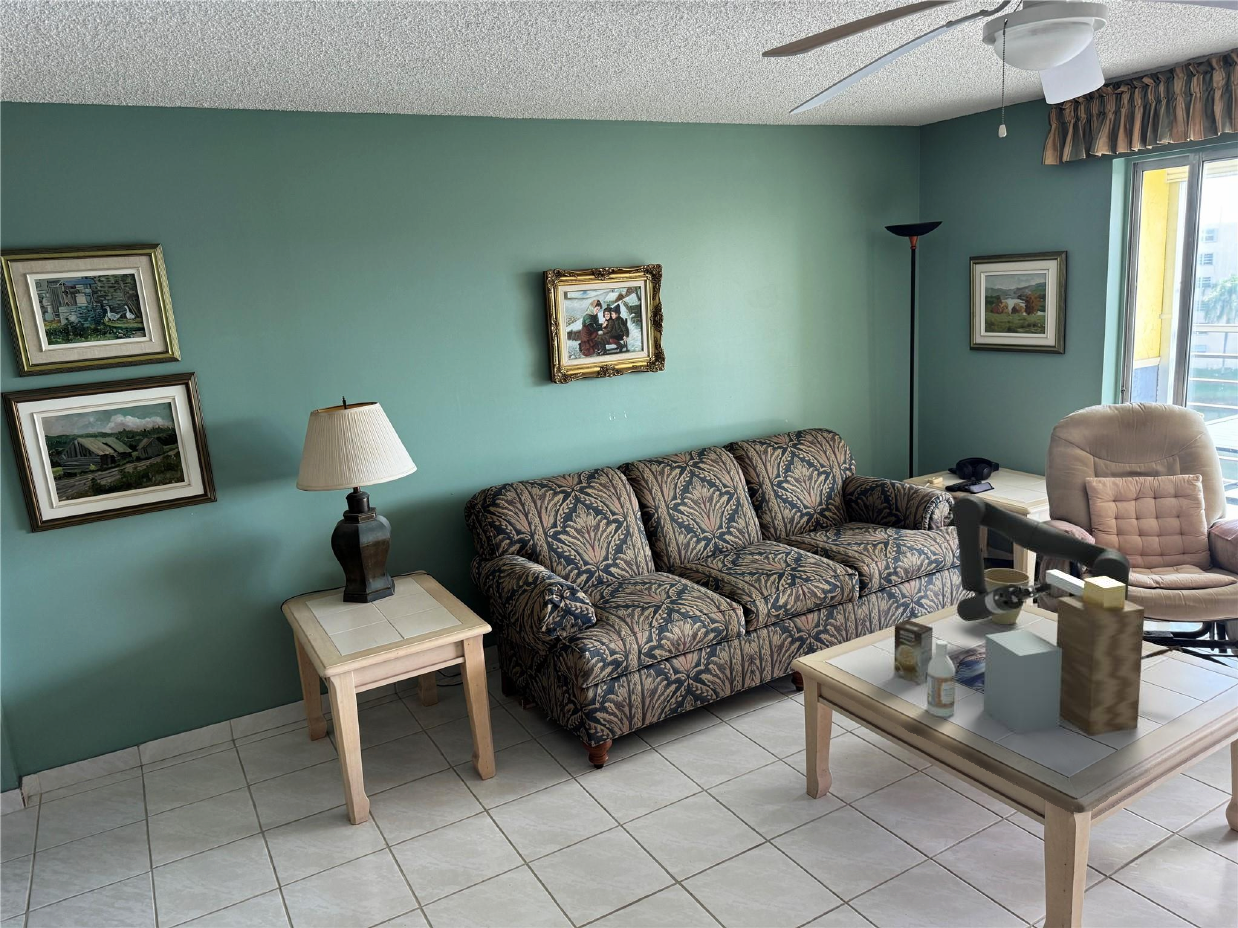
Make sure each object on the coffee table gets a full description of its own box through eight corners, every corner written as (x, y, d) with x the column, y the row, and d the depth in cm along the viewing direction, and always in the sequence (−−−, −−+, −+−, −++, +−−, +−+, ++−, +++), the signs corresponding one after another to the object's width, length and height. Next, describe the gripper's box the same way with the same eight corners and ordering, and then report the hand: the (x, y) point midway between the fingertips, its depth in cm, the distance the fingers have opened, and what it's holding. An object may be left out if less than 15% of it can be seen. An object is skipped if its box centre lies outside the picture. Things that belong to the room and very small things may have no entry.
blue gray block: (1023, 703, 239) (1025, 628, 234) (1058, 727, 225) (1062, 648, 221) (983, 709, 236) (985, 635, 232) (1017, 734, 223) (1019, 655, 219)
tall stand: (1099, 704, 235) (1105, 591, 229) (1137, 727, 223) (1144, 608, 216) (1053, 712, 233) (1058, 598, 226) (1089, 735, 220) (1095, 615, 214)
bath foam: (936, 719, 233) (937, 648, 229) (922, 707, 240) (922, 639, 236) (959, 715, 234) (960, 645, 230) (944, 703, 241) (945, 635, 237)
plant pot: (973, 623, 294) (974, 578, 291) (988, 609, 305) (989, 565, 302) (1020, 632, 284) (1022, 585, 281) (1034, 617, 295) (1035, 572, 292)
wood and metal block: (1060, 579, 240) (1061, 558, 239) (1124, 607, 218) (1125, 584, 216) (1040, 581, 239) (1041, 560, 237) (1103, 610, 216) (1104, 587, 215)
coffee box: (892, 675, 260) (892, 624, 256) (905, 669, 263) (905, 618, 260) (920, 685, 252) (920, 633, 249) (933, 678, 256) (933, 626, 253)
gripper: (978, 589, 260) (1009, 578, 245) (1021, 583, 263) (1054, 571, 248) (986, 614, 258) (1017, 604, 243) (1029, 608, 261) (1062, 597, 246)
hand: (1036, 588), depth 245 cm, fingers open, 8 cm apart
